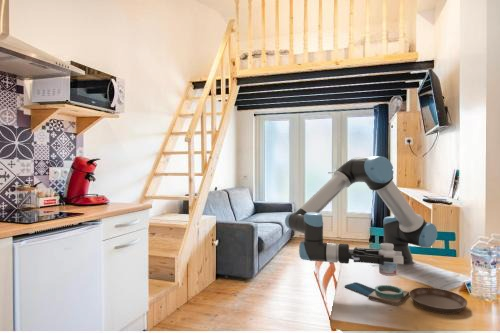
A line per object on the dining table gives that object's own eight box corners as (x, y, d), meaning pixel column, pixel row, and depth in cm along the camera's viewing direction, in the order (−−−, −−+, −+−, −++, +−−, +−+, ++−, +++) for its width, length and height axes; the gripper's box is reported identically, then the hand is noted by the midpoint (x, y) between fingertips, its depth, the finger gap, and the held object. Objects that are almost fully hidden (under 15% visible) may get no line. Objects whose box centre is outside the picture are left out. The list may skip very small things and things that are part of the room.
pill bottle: (398, 276, 117) (397, 246, 117) (380, 276, 118) (380, 245, 118) (394, 271, 123) (393, 242, 123) (377, 271, 124) (376, 242, 124)
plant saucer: (468, 321, 101) (468, 311, 101) (406, 309, 110) (406, 300, 110) (466, 301, 116) (466, 292, 116) (412, 292, 125) (412, 284, 125)
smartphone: (356, 284, 136) (356, 281, 136) (387, 295, 123) (387, 293, 123) (343, 287, 132) (343, 285, 132) (373, 300, 119) (373, 297, 119)
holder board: (381, 288, 129) (381, 281, 129) (409, 294, 122) (409, 287, 122) (368, 298, 120) (368, 291, 120) (397, 306, 112) (397, 298, 112)
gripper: (341, 256, 136) (400, 260, 128) (336, 269, 118) (405, 275, 110) (340, 238, 136) (400, 242, 128) (335, 249, 118) (404, 254, 110)
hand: (402, 257), depth 119 cm, fingers closed on pill bottle, 6 cm apart
